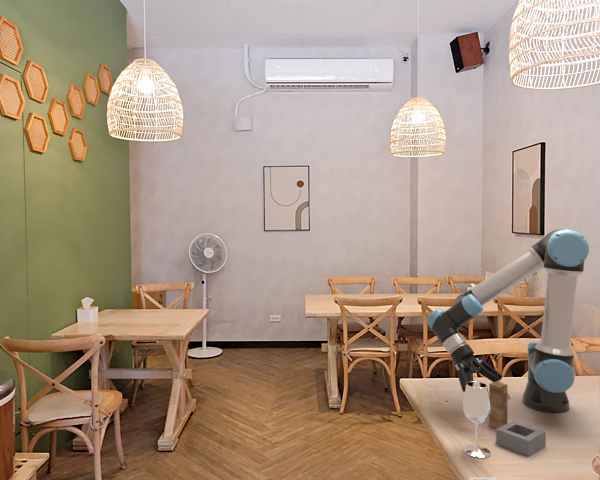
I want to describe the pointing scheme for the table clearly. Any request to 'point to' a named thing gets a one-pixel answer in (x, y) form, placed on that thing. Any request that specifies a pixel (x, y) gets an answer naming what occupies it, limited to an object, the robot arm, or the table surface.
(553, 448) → the table surface
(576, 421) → the table surface
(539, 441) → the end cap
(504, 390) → the wooden block
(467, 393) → the wineglass
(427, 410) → the table surface
